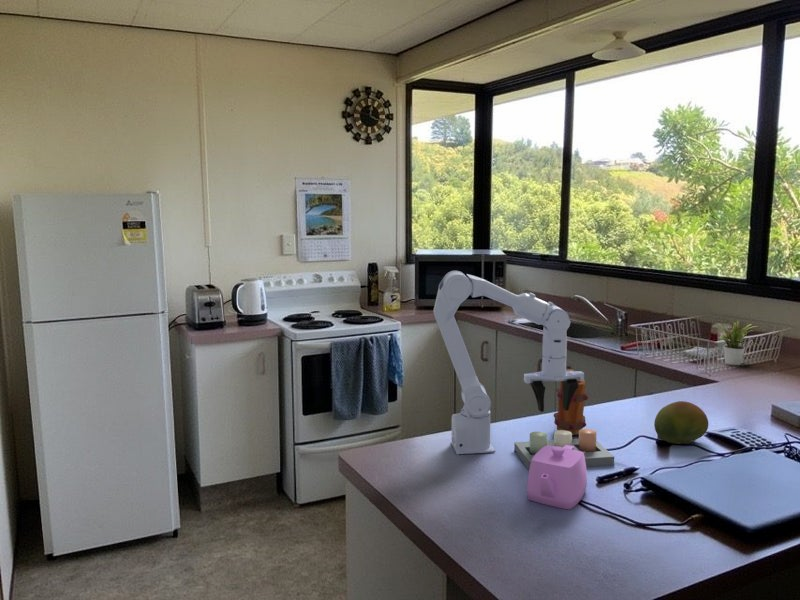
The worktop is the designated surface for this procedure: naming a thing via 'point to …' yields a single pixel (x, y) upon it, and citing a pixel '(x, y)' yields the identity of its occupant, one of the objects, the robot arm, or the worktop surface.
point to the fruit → (681, 422)
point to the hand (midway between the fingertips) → (553, 409)
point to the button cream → (562, 438)
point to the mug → (572, 410)
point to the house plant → (735, 344)
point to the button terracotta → (587, 440)
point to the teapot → (557, 477)
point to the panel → (591, 458)
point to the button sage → (537, 441)
